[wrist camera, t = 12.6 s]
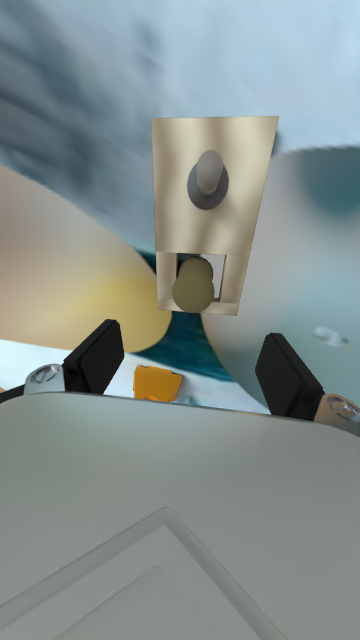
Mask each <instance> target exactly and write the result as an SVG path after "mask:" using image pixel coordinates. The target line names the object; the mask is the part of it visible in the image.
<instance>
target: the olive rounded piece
mask: <svg viewBox="0 0 360 640" xmlns="http://www.w3.org/2000/svg"><path fill="white" fill-rule="evenodd" d="M212 279H213V268H212V266H211V264H210V263H209V262H208V261H207V260H206V259H204V258H202V257H198V256H194V257H189V258H188V259H186V260H184V262H183V263H182V264H181V265H180V268H179V270H178V278H177V279H176V280H175V282H174V285H173V287H172V296H173V300H174V302H175V304H176V305H177V306H178V307H179V308H180V309H181V310H183V311H185V312H188V313H198V312H201V311H203V310H205V309H206V308H207V307H208V306H209V305H210V304H211V302H212V300H213V298H214V287H213V283H212Z"/></svg>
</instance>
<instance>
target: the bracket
mask: <svg viewBox="0 0 360 640" xmlns="http://www.w3.org/2000/svg"><path fill="white" fill-rule="evenodd" d="M181 378H182V376H181V375H177V374H172V373H171V371H170V370H166V369H161V368H157V367H152V366H149V367H148V368H146V367H141V366H137V367H136V369H135V371H134V385H133V391H134V398H139V399H147V400H156V401H164V402H171V401H175V400H176V398H177V395H178V391H179V387H180V384H181Z"/></svg>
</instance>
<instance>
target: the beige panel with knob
mask: <svg viewBox="0 0 360 640" xmlns="http://www.w3.org/2000/svg"><path fill="white" fill-rule="evenodd" d="M278 119H279V116H251V117H205V118H160V119H151V120H152V149H153V179H154V208H155V237H156V266H157V294H158V309H159V310H171V311H183V310H181V309H180V308H179V307H178V306H177V305H176V304H175V302H174V300H173V296H172V287H173V285H174V282H175V280H176V279H177V278H178V253H192V254H214V255H225V261H224V267H223V274H222V281H221V287H220V295H219V298H213V300H212V302H211V304H210V305H209V306H208V307H207V308H206V309H205V310H203V311H201V312H198V313H209V314H222V315H235V316H236V315H237V311H238V307H239V302H240V297H241V293H242V287H243V283H244V279H245V274H246V269H247V265H248V260H249V255H250V251H251V245H252V241H253V237H254V232H255V227H256V222H257V217H258V213H259V208H260V204H261V199H262V194H263V189H264V185H265V180H266V176H267V171H268V166H269V162H270V157H271V152H272V148H273V143H274V138H275V133H276V129H277V124H278ZM184 312H185V311H184Z"/></svg>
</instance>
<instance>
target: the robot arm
mask: <svg viewBox="0 0 360 640" xmlns="http://www.w3.org/2000/svg"><path fill="white" fill-rule="evenodd" d="M123 359H124V349H123V343H122V337H121V330H120V324H119V323H118V322H117V321H116V320H111V319H106V320H105V321H104V322H103V323H102V324H101V325H100V326H99V327H98V328H97V329H96V330H95V331H94V332H92V334H91V335H89V336H88V337H87V338H86V339H85V340H84V341H83V342H82V343H81V344H80V345H79V346H78V347H77V348H76V349H75V350H74V351H73V352H72V353H70V354H69V355H68V356H67V357H66V358H65V359H64V360H63V361H64V363H63V364H62V365H59V364H49V365H45V366H42V367H40V368H38V369H36V370H34V371H33V372H32V373H30V374H29V376H28V377H27V379H26V381H25V384H24V385H21V386H18V387H16V388H13V389H10V390H8V391H5V392H2V393H0V640H360V408H359V407H358V406H357V405H355V404H354V403H353V402H351V401H349V400H348V399H346V398H344V397H341V396H339V395H335V394H325V392H324V391H323V390H322V389H323V387H322V386H321V384H320V383H319V382H318V381H317V379H316V378H315V377H314V375H313V374H312V373H311V371H310V370H309V369H308V368H307V366H306V365H305V364H304V362H303V361H302V360H301V359H300V357H299V356H298V355H297V354H296V352H295V351H294V349H293V348H292V347H291V345H290V344H289V343H288V342H287V340H286V339H285V338H284V336H283V335H282V334H280V333H270V334H269V335H266V337H265V340H264V343H263V346H262V350H261V353H260V356H259V359H258V361H257V365H256V368H255V372H256V375H257V378H258V381H259V383H260V385H261V388H262V391H263V393H264V396H265V399H266V402H267V404H268V407H269V410H270V412H271V415H268V414H261V413H253V412H246V411H238V410H230V409H222V408H214V407H206V406H198V405H189V404H181V403H173V402H164V401H156V400H147V399H139V398H130V397H121V396H112V395H103V393H104V391H105V390H106V388H107V386H108V385H109V383H110V381H111V380H112V378H113V376H114V375H115V373H116V371H117V370H118V368H119V366H120V364H121V363H122V361H123Z"/></svg>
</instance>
